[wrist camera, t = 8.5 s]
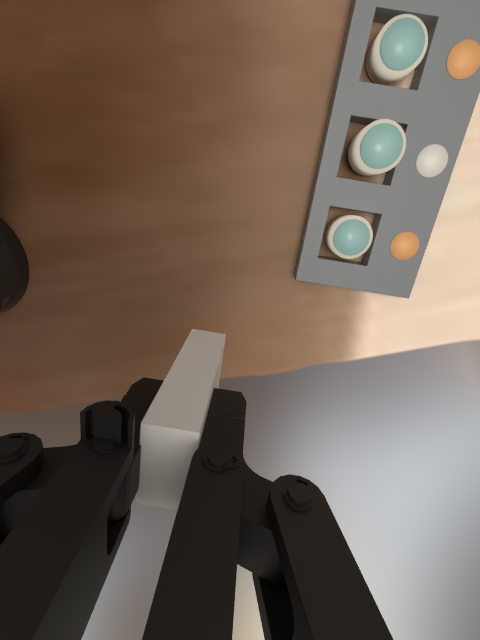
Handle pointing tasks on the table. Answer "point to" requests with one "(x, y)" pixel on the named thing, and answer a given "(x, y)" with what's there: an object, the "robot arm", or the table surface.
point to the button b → (377, 147)
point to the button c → (397, 50)
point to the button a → (348, 236)
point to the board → (420, 153)
